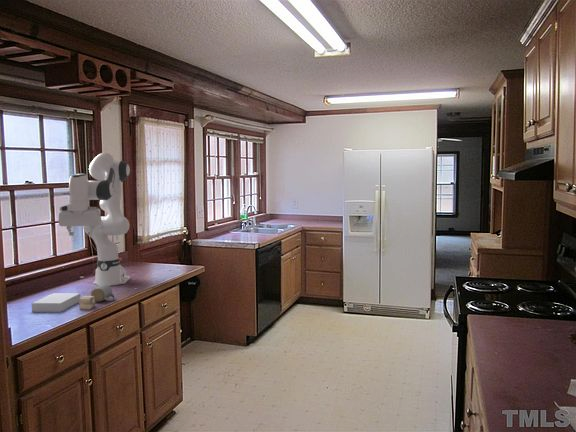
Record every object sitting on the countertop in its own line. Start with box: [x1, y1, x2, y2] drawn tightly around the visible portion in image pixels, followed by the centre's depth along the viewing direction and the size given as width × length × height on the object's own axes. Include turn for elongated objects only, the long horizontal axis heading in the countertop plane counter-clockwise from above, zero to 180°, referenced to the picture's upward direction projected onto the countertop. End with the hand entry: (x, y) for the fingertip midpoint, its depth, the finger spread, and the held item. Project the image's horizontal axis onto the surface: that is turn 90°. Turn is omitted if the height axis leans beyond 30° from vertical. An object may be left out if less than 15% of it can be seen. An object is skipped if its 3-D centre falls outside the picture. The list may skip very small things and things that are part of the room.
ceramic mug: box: [90, 284, 116, 303], centre depth 238 cm, size 11×8×8 cm
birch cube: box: [78, 295, 96, 310], centre depth 226 cm, size 5×5×5 cm
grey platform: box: [31, 292, 81, 313], centre depth 229 cm, size 18×14×4 cm
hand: (80, 235), depth 231 cm, fingers open, 8 cm apart
